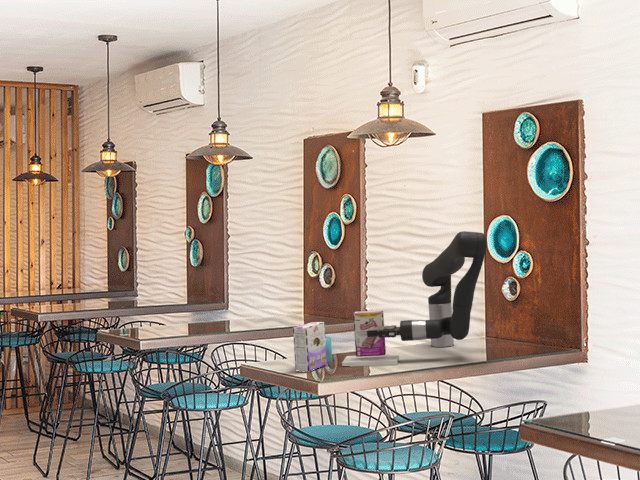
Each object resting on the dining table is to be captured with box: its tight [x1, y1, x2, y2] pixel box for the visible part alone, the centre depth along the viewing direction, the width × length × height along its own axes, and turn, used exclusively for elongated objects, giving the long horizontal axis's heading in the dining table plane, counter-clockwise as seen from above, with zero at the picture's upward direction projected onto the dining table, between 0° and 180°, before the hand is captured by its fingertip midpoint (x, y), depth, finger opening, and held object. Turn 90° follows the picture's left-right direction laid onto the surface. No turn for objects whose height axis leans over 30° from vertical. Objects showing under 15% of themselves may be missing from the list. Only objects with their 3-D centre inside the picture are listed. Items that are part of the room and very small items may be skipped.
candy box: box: [292, 321, 328, 371], centre depth 301 cm, size 14×6×16 cm, turn 150°
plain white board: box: [341, 353, 400, 367], centre depth 306 cm, size 14×20×2 cm
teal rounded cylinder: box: [326, 336, 333, 363], centre depth 315 cm, size 7×7×9 cm
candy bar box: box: [352, 310, 387, 357], centre depth 306 cm, size 11×5×16 cm, turn 84°
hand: (368, 332), depth 306 cm, fingers closed on candy bar box, 5 cm apart
